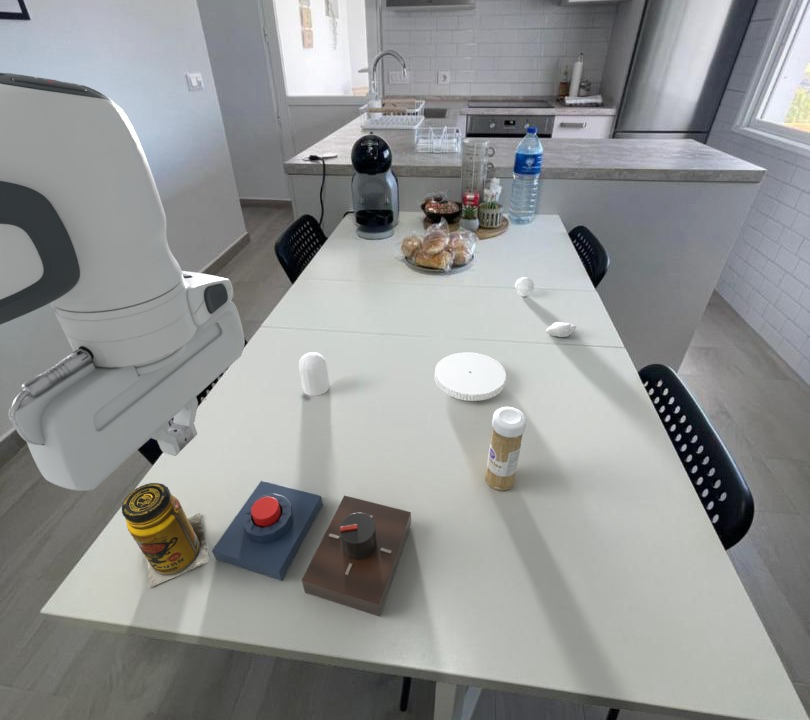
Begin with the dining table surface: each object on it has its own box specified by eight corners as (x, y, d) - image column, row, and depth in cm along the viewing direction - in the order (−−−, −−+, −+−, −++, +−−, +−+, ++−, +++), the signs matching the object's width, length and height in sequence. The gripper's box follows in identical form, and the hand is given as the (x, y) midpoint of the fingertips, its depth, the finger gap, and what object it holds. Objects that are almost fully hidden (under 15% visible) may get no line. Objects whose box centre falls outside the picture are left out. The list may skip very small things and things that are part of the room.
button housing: (282, 581, 57) (276, 564, 55) (215, 560, 60) (207, 542, 57) (323, 505, 66) (319, 487, 64) (264, 489, 69) (258, 472, 67)
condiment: (149, 588, 57) (112, 533, 50) (146, 535, 63) (112, 479, 56) (210, 562, 59) (182, 506, 52) (200, 514, 65) (174, 458, 58)
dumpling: (553, 345, 101) (551, 329, 99) (543, 336, 105) (541, 321, 103) (582, 336, 101) (581, 320, 99) (571, 328, 106) (570, 313, 104)
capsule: (324, 397, 86) (319, 364, 82) (298, 394, 87) (291, 361, 83) (333, 380, 91) (328, 348, 86) (308, 377, 92) (302, 345, 87)
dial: (374, 526, 60) (372, 508, 58) (378, 556, 56) (377, 538, 54) (341, 531, 59) (338, 513, 57) (343, 562, 56) (340, 545, 54)
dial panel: (380, 616, 53) (378, 603, 51) (305, 592, 56) (301, 579, 54) (411, 524, 63) (410, 511, 62) (346, 507, 66) (344, 494, 64)
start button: (272, 530, 59) (269, 522, 58) (248, 523, 60) (245, 515, 59) (285, 507, 62) (283, 500, 61) (262, 501, 63) (260, 493, 62)
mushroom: (509, 294, 120) (512, 277, 117) (522, 289, 122) (524, 272, 120) (524, 301, 117) (526, 283, 114) (536, 296, 119) (539, 278, 116)
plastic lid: (451, 355, 97) (451, 345, 96) (513, 373, 92) (515, 363, 90) (422, 391, 87) (422, 381, 86) (490, 413, 82) (492, 403, 80)
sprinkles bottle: (478, 477, 70) (486, 413, 62) (500, 464, 72) (510, 401, 64) (498, 497, 67) (509, 432, 59) (520, 483, 69) (533, 419, 61)
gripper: (36, 410, 26) (120, 547, 34) (242, 273, 42) (266, 388, 50) (-41, 389, 28) (56, 525, 35) (186, 265, 44) (218, 377, 51)
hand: (180, 444), depth 43 cm, fingers closed
